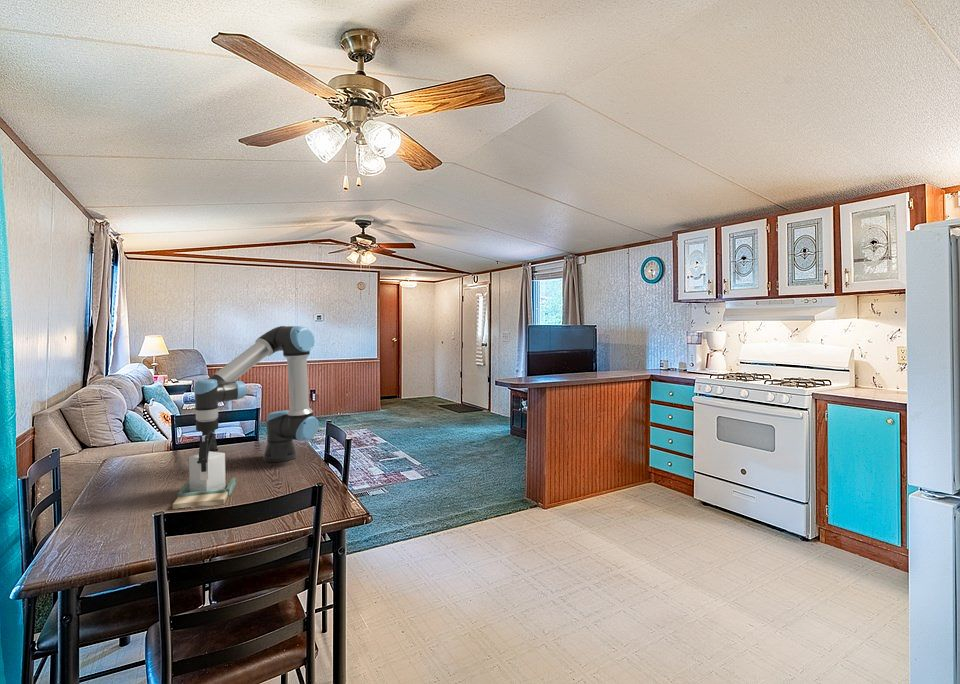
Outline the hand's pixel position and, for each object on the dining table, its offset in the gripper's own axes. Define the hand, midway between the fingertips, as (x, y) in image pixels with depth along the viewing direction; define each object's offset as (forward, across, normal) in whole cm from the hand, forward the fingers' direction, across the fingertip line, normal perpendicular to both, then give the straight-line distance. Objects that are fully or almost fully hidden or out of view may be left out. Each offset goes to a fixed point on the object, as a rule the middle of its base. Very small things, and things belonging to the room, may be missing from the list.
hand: (208, 473), depth 182 cm
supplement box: (+8, 0, 0) cm, 8 cm away
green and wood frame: (+7, +4, 0) cm, 8 cm away
